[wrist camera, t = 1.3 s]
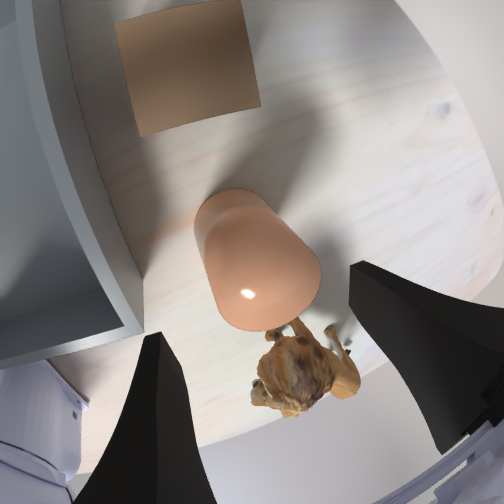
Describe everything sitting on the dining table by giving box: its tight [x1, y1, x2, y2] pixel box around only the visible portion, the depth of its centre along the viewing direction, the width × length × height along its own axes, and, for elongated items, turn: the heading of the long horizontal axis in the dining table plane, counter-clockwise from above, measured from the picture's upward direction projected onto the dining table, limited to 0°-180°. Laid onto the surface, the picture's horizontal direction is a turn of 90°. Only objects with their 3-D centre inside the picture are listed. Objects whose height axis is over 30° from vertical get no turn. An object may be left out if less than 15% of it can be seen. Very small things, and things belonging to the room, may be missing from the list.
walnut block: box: [114, 0, 261, 138], centre depth 12 cm, size 5×5×5 cm
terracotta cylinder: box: [194, 188, 321, 332], centre depth 16 cm, size 5×5×7 cm
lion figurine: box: [251, 317, 361, 418], centre depth 23 cm, size 15×5×9 cm, turn 56°
